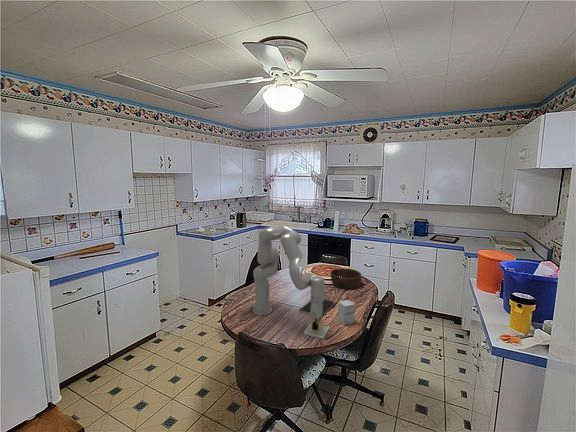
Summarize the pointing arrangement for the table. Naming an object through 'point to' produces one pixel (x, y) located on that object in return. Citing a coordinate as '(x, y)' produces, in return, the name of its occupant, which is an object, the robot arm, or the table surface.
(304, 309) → the hardcover book
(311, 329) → the ochre cube
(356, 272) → the wooden bowl
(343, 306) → the supplement box
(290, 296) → the table surface
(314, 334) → the mat
